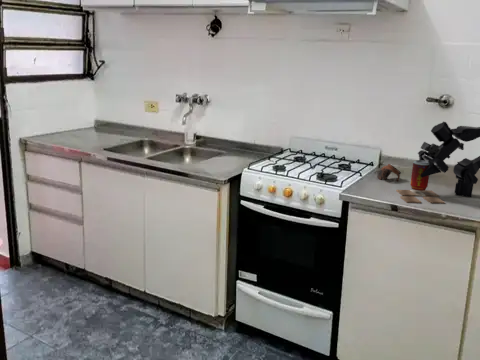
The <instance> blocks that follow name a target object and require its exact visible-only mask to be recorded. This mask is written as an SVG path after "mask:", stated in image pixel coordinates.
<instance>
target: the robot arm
mask: <svg viewBox="0 0 480 360" xmlns="http://www.w3.org/2000/svg"><path fill="white" fill-rule="evenodd" d="M430 132H431V134H433V136H434V137H435V138H436V140H437V141H438V142H440V143H441V144H440V145H438V144H435V143H428V142H426V141H423V143H422V144H421V145H420V150H419V151H418V152H417V154H418V160H424V161H428V162H429V163H430V164H429V166H428V168H427V169H426V170H425V171H424V172H423V173H422V174H421V175H420V176H421V177H425V176H429V177H430V176H432V175H435V174H439V173H444V174H445V173H446V172H448V171H449V166H448V164H447V163H446V162H445V160H446V159H448V160H449V159H450V158H451V154H453V153H454V152H455V151H457V149H459V150H461V151H463V150H464V149H465V147H464V145H465V144H464V143H465V142H470V141H475V140H477V139H479V138H480V126H470V125H469V126H468V125H459V126H457V127H456V128H451V127H450V126H449V124H448V123H447V122H446V121H442V122H440V123H437V124H435V125H434V126H433V127H432V128H431V130H430ZM460 141H462V142H460ZM463 142H464V143H463ZM452 171H453V174H454V175H455V178H456V179H457V182H455V186H454V193H455V196H459V197H466V198H472V197H473V189H474V185H476V184H477V182H478V181H479V178H478V177H477V174H478V172H479V171H480V155H479V156H477V157H476V158H473V159H469V158H463V159H462V160H460V161H457V163H456V164H455V165H454V166H453V170H452Z"/></svg>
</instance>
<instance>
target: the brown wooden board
mask: <svg viewBox="0 0 480 360" xmlns="http://www.w3.org/2000/svg"><path fill="white" fill-rule="evenodd" d="M395 192H397V193H398V194H399V195H401V196H414V197H438V198H439V197H440V195H439V194H438V193H436V192H434V191H433V190H431V189H428V190H427V189H426V190H425V191H416V190H413V189H396V191H395Z"/></svg>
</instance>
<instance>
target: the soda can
mask: <svg viewBox="0 0 480 360" xmlns="http://www.w3.org/2000/svg"><path fill="white" fill-rule="evenodd" d="M429 164H430V163H429V162H428V161H424V160H419V159H418V160H414V161H413V162H412V170H411V176H410V177H411V178H410V187H411V190H416V191H425V190H427V188H428V186H429V179H430V175H429V176H425V177H421V176H420V175H421V174H422V173H423V172H424V171H425V170H426V169H427V168H428V166H429Z"/></svg>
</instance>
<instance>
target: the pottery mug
mask: <svg viewBox="0 0 480 360" xmlns="http://www.w3.org/2000/svg"><path fill="white" fill-rule="evenodd" d="M391 173H393V174H395V176H397V178H396V181H397V182H398V181H399V179H400V176H401V174H402V172H401V171H400V169H398V168H396V167H395V166H394V165H391V164H390V163H388V164H387V165H384V166H383V167H382V168H380V170H379V172H378V175H377V179H379V180H380V181H381V180H387V179H388V178H389V176H390V175H391Z"/></svg>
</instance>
